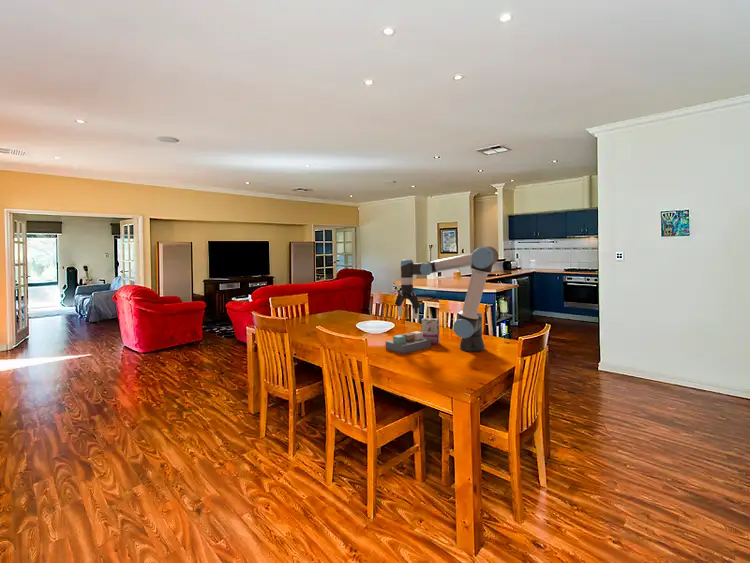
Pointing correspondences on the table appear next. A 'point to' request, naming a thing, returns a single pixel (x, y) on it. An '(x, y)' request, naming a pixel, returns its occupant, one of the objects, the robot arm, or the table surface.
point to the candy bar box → (430, 329)
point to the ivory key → (417, 335)
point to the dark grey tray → (408, 346)
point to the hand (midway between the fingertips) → (407, 317)
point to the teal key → (399, 339)
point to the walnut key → (409, 337)
